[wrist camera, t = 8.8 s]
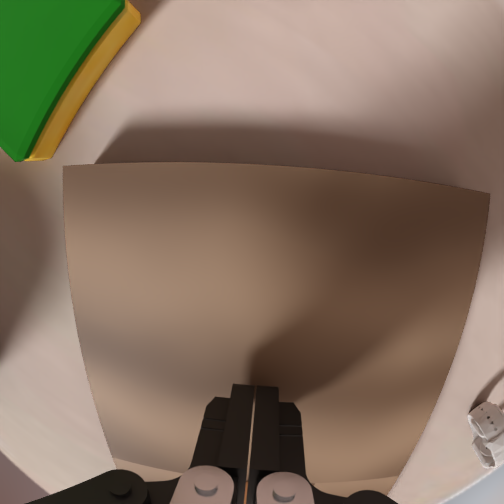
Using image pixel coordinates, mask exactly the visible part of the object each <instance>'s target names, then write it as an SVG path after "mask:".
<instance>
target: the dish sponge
mask: <svg viewBox="0 0 504 504" xmlns="http://www.w3.org/2000/svg"><path fill="white" fill-rule="evenodd" d="M140 23H141V15H140V13H139V11H138V10H137V9H136V8H135V7H134V6H133V5H132V4H131V3H130V2H129V1H127V0H0V147H1V148H2V149H3V150H4V151H5V152H6V153H7V154H8V155H9V156H10V157H11V158H12V159H13V160H14V161H15V162H21V161H23V160H25V161H41V160H46V159H49V158H52V156H53V154H54V152H55V151H56V149H57V147H58V145H59V143H60V141H61V139H62V137H63V136H64V134H65V132H66V130H67V128H68V127H69V125H70V123H71V121H72V120H73V118H74V116H75V115H76V113H77V111H78V110H79V108H80V106H81V105H82V103H83V101H84V100H85V98H86V97H87V95H88V94H89V92H90V91H91V89H92V87H93V86H94V84H95V83H96V81H97V80H98V79H99V77H100V76H101V74H102V73H103V71H104V70H105V68H106V67H107V66H108V64H109V63H110V62H111V60H112V59H113V57H114V56H115V55H116V53H117V52H118V51H119V49H120V48H121V47H122V46H123V44H124V43H125V42H126V40H127V39H128V38H129V37H130V35H131V34H132V33H133V32H134V30H135V29H136V28H137V27H138V26H139V24H140Z"/></svg>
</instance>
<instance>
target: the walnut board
mask: <svg viewBox="0 0 504 504" xmlns="http://www.w3.org/2000/svg"><path fill="white" fill-rule="evenodd" d="M489 203H490V194H489V193H484V192H479V191H474V190H469V189H464V188H458V187H453V186H447V185H442V184H436V183H430V182H424V181H417V180H411V179H404V178H397V177H390V176H382V175H374V174H366V173H357V172H348V171H339V170H329V169H318V168H306V167H293V166H278V165H261V164H240V163H209V162H138V163H107V164H87V165H71V166H63V208H64V229H65V243H66V254H67V264H68V273H69V282H70V289H71V296H72V303H73V309H74V315H75V321H76V327H77V332H78V337H79V342H80V347H81V352H82V356H83V361H84V365H85V369H86V373H87V377H88V381H89V385H90V389H91V392H92V396H93V400H94V403H95V407H96V410H97V413H98V417H99V420H100V423H101V426H102V429H103V432H104V435H105V438H106V441H107V444H108V447H109V449H110V452H111V455H112V458H113V460H114V463H115V465H116V468H117V469H124V470H129V471H132V472H134V473H136V474H138V475H139V476H140V477H141V478H142V479H143V480H144V481H145V482H150V481H167V480H172V479H175V478H177V477H179V476H181V475H182V474H183V473H184V472H186V471H187V470H188V468H189V467H190V465H191V462H192V458H193V454H194V450H195V447H196V443H197V439H198V435H199V432H200V429H201V424H202V420H203V417H204V413H205V409H206V406H207V405H208V404H209V403H210V402H211V401H212V400H213V398H214V397H215V396H216V397H225V398H230V396H231V390H232V385H233V383H234V384H246V385H255V388H254V399H253V411H252V422H251V433H250V444H249V455H248V465H247V476H246V481H248V477H249V466H250V455H251V443H252V431H253V420H254V409H255V399H256V388H257V385H259V386H274V387H279V402H294V404H295V405H296V407H297V408H298V410H299V411H300V412H301V420H302V431H303V443H304V455H305V467H306V475H307V478H308V480H309V481H310V483H311V484H312V485H313V486H314V487H316V488H317V489H319V490H320V491H322V492H325V493H328V494H333V495H337V496H342V497H349V496H350V495H351V494H353V493H355V492H358V491H362V490H374V491H378V492H380V493H383V494H384V495H386V496H387V494H388V492H389V491H390V489H391V488H392V486H393V484H394V483H395V481H396V480H397V478H398V476H399V475H400V473H401V471H402V469H403V468H404V466H405V464H406V462H407V461H408V459H409V457H410V455H411V453H412V451H413V450H414V448H415V446H416V444H417V442H418V440H419V438H420V436H421V434H422V432H423V430H424V428H425V426H426V424H427V422H428V420H429V418H430V415H431V413H432V411H433V409H434V407H435V404H436V402H437V400H438V397H439V395H440V393H441V390H442V388H443V385H444V383H445V380H446V378H447V375H448V373H449V370H450V367H451V364H452V362H453V359H454V356H455V353H456V350H457V347H458V344H459V341H460V338H461V335H462V332H463V329H464V325H465V322H466V319H467V315H468V312H469V308H470V304H471V300H472V297H473V293H474V288H475V284H476V280H477V275H478V271H479V266H480V261H481V256H482V251H483V245H484V239H485V233H486V226H487V219H488V211H489Z"/></svg>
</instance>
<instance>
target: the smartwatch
mask: <svg viewBox="0 0 504 504" xmlns="http://www.w3.org/2000/svg"><path fill="white" fill-rule="evenodd" d="M468 421H469V425H470V427H471V430H472V433H473V443H472V448H473V450H474V451H475V453H476V455H477V457H478V459H479V460H480V462H481V464H482V466H483V467H484V468H493V469H496V468H497V467H499V466H500V465H502V464H503V463H504V413H503V411H502V410H501V409H500V407H498V406H497V405H496V404H492V403H490V402H484V403H482V404H480V405H479V406H477V407H476V408H475V409H473V410H472V411H471V412H470V413H469V414H468Z"/></svg>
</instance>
